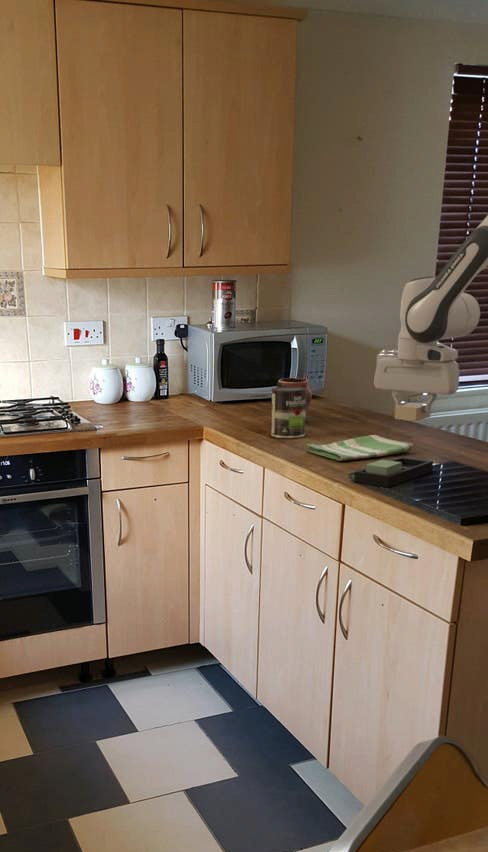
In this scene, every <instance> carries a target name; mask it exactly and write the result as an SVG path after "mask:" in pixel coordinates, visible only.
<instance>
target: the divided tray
mask: <svg viewBox="0 0 488 852" xmlns="http://www.w3.org/2000/svg"><path fill="white" fill-rule="evenodd" d="M388 461H395V462H402V471H399V472H396V473H393V474H390V475H381V474H374V473H367V472H366V467H365V468H362V469H359V470H356V471H354V478H353V479H354V483H359V484H364V485H371V486H372V485H373V486H377V487H383V488H390V487H394V486H396V485H399V484H402V483H404V482H407V481H409V480H412V479H415V478H418V477H420V476H421V477H422V476H423V475H426V474H428V473H429V474H430V473H432V472H433V470H434V469H433V468H434V461H433V460H426V459H419V458H412V457H402V456H399V457H396V458H393V459H390V460H388Z"/></svg>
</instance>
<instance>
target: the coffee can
mask: <svg viewBox="0 0 488 852" xmlns="http://www.w3.org/2000/svg"><path fill="white" fill-rule="evenodd" d="M306 390H307V389H306V388H304V387H277V386H276V387H272V388H271V434H270V436H271V437H273V438H276V439H300V438H303V437H305V436H306V416H305V410H306Z"/></svg>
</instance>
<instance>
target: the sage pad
mask: <svg viewBox="0 0 488 852" xmlns="http://www.w3.org/2000/svg"><path fill="white" fill-rule="evenodd" d="M365 468H366V472H367V473H374V474H381V475H390V474H393V473H396V472H399V471H402V462H395V461H389V460H388V459H387V460H386V459H379V460H376V461H373V462H370V463H366V464H365Z"/></svg>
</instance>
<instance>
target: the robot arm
mask: <svg viewBox="0 0 488 852" xmlns="http://www.w3.org/2000/svg"><path fill="white" fill-rule="evenodd" d="M487 267H488V214H487V215H486V216H485V218H484V219H483V220H482V222H480V224H479V225H478V226H477V227H476V228H475V229H474V230H473V231H472V232H471V233H470V234H469V235H468V236H467V237H466V239H465V240H464V241H463V242H462V243H461V245H460V246H459V247H458V248H457V250H455V252H454V253H453V255H452V256H451V257H450V258H449V260H448V261H447V263H446V264H445V265H444V266H443V268H442V269H441V270H440V272H439V273H438V274H437V275H436V276H432V275H431V276H424V277H422V276H421V277H417V278H414V279H410V280H409V281H408V282H407V283H405V285H404V287H403V290H402V295H401V300H400V309H399V310H400V312H399V321H400V331H399V333H398V339H397V340H398V342H397V349H389V348H388V349H387V348H385V349H382V350H381V351H379V352H378V354H377V356H376V367H375V368H376V369H375V371H374V377H373V385H374V387H375V389H377V390H384V391H385V390H386V391H391V396H392V398H393V400H394V402H395V406H398V405H402V404H406V401H403V400H402V397H401V395H402V393H403V392H408V393H409V392H411V393H420V394H421V393H422V394H426V399H427V401H426V402H425V403H423V404H424V405H422V412H424V413H429V412H430V413H431V412H432V405H433V404H434V402H435V401H436V399H437V398H438V397H437V396H438V395H444V396H445V395H446V396H450V395H454V394H456V393H457V391H458V390H459V386H460V366H459V363H458V362H457V361H456V360H457V359H458V357H459V351H458V350H457V349H455V348H453V347H450V346H448V345H445V344H443V343H441V342H439V341H440V340H441V341H443V340H450V339H454V338H455V339H456V338H461V337H465V336H468V335H469V334H471V333H473V332H474V331H475V329H476V328H477V327H478V325H479V322H480V320H481V307H480V304H479V301H478V300H477V298H476V297H475V296H474V295H472V294H469V293H466V292H464V291H465V290H466V289H467V288H468V286H470V284H471V283H472V281H473V280H474V279H475V278H476V277H477V275H478V274H480V273H481V271H483V270H484V269H486V268H487Z"/></svg>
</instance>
